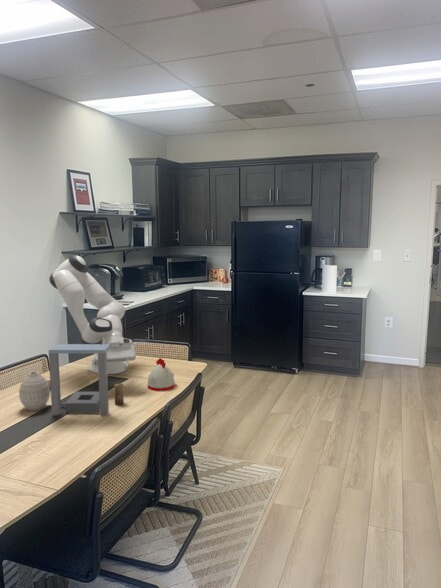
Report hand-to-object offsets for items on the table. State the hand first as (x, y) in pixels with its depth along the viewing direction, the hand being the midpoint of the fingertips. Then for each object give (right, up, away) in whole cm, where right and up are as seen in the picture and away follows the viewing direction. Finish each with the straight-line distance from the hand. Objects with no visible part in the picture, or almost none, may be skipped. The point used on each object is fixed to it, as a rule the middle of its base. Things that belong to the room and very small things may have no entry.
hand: (115, 368), depth 210 cm
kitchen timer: (+20, -12, +15) cm, 28 cm away
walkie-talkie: (-40, -13, +7) cm, 42 cm away
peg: (+4, -15, -8) cm, 17 cm away
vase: (-33, -16, -13) cm, 39 cm away
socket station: (-11, -16, -13) cm, 23 cm away
